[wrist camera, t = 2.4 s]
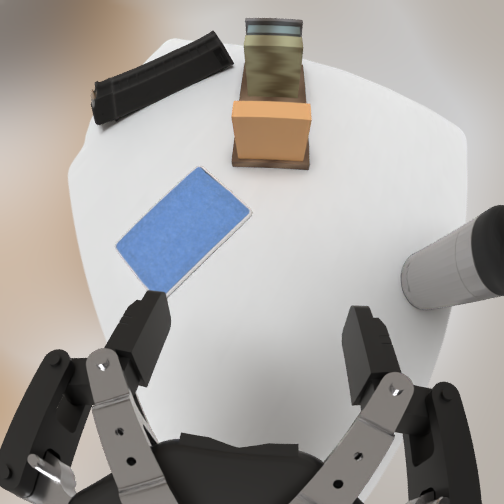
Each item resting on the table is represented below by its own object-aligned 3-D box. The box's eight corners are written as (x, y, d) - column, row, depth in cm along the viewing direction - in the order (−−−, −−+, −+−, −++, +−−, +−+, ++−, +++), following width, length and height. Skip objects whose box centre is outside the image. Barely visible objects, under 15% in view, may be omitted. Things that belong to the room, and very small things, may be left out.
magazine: (234, 27, 43) (81, 55, 32) (242, 32, 42) (82, 62, 31) (222, 88, 58) (95, 122, 47) (228, 95, 57) (97, 131, 47)
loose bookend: (302, 146, 42) (310, 103, 33) (303, 161, 42) (311, 120, 32) (239, 143, 43) (233, 100, 33) (238, 158, 42) (231, 116, 33)
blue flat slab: (201, 166, 45) (199, 162, 44) (255, 214, 42) (255, 210, 41) (115, 247, 42) (111, 245, 41) (161, 306, 39) (158, 305, 38)
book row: (302, 69, 50) (307, 19, 36) (308, 169, 43) (321, 113, 30) (245, 67, 50) (240, 17, 37) (232, 166, 44) (221, 110, 31)
